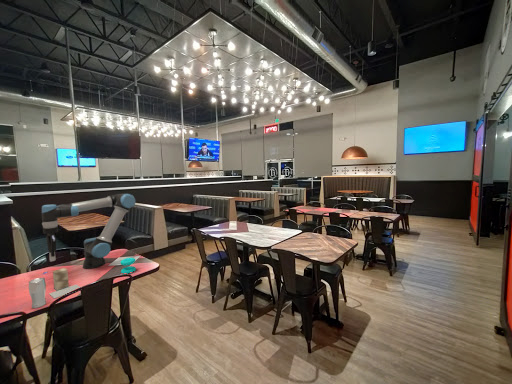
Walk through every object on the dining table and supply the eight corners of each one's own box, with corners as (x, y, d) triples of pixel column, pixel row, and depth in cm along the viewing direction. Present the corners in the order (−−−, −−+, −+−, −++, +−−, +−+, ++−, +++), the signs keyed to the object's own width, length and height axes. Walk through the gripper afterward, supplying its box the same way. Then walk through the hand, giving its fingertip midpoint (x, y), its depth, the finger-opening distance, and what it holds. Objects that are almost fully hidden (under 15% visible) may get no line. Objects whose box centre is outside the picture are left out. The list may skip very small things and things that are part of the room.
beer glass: (27, 307, 126) (25, 281, 125) (43, 300, 132) (41, 276, 131) (34, 310, 123) (32, 283, 122) (50, 303, 130) (48, 278, 129)
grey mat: (76, 284, 152) (76, 284, 152) (82, 288, 146) (82, 288, 146) (49, 294, 140) (49, 293, 140) (54, 298, 135) (54, 298, 135)
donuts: (133, 261, 167) (118, 262, 164) (134, 273, 168) (119, 275, 165) (136, 256, 177) (122, 258, 174) (137, 268, 177) (122, 270, 174)
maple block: (65, 284, 152) (64, 267, 151) (68, 287, 149) (67, 269, 148) (54, 288, 147) (52, 271, 146) (57, 291, 144) (55, 273, 143)
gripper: (40, 227, 153) (42, 260, 154) (45, 229, 145) (48, 264, 147) (54, 225, 159) (56, 257, 160) (60, 227, 152) (62, 261, 153)
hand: (52, 260), depth 154 cm, fingers closed
